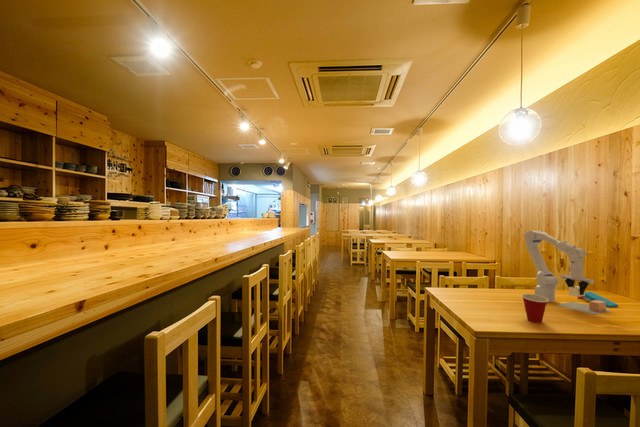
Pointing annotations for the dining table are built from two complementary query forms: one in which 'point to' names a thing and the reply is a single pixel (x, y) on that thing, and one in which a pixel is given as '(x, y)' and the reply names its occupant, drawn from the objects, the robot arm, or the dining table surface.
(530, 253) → the robot arm
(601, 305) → the terracotta base brick
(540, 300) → the plastic cup
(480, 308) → the dining table surface
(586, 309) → the slate baseplate
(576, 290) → the cream brick
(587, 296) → the teal bar
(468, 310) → the dining table surface
